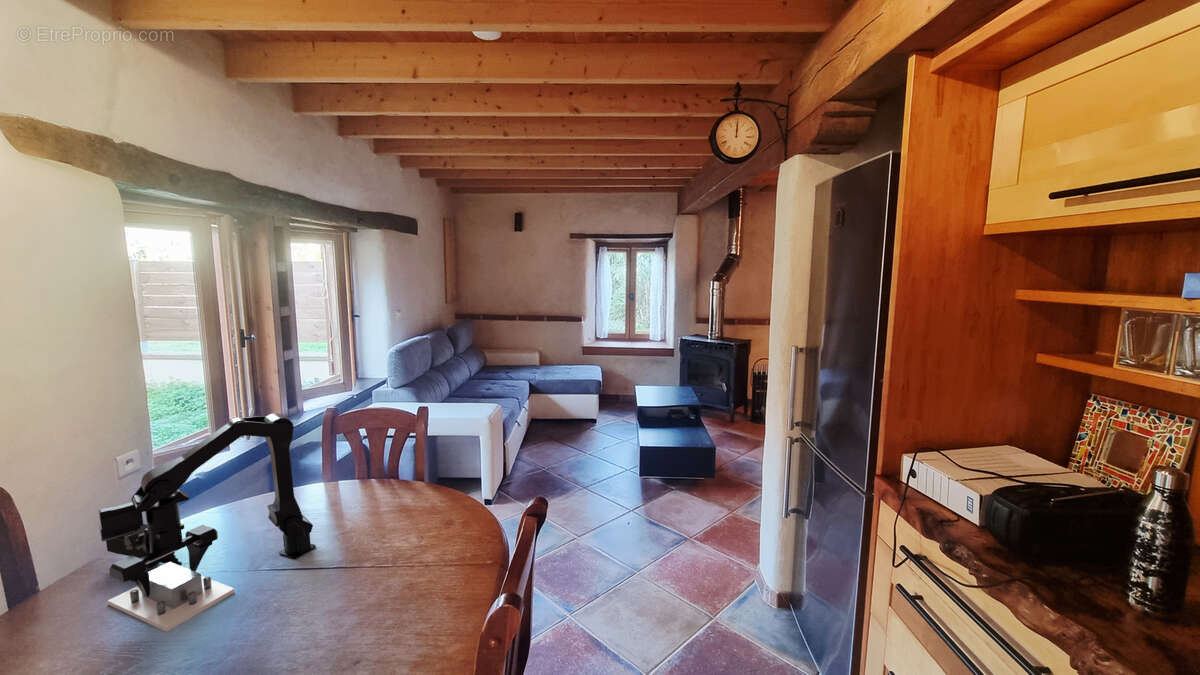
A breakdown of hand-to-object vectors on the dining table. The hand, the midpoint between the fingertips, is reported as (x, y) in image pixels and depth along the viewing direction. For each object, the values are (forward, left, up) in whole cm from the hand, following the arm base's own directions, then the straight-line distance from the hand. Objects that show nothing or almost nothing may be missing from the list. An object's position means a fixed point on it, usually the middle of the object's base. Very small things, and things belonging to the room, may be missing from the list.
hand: (170, 584), depth 115 cm
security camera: (+20, -6, -4) cm, 21 cm away
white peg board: (0, 0, -4) cm, 4 cm away
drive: (0, 0, -3) cm, 3 cm away
